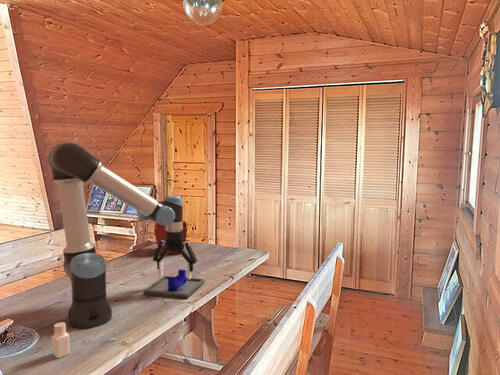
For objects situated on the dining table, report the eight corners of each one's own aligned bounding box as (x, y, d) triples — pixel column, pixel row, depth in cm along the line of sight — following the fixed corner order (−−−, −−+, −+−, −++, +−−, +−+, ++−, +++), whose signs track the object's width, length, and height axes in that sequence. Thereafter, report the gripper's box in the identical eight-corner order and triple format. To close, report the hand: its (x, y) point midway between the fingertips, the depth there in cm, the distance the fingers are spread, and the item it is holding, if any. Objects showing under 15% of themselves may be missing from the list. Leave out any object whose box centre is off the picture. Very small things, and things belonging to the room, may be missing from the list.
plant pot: (154, 257, 229) (153, 228, 228) (155, 249, 248) (154, 222, 246) (187, 255, 233) (187, 227, 231) (186, 247, 252) (186, 221, 250)
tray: (187, 298, 165) (187, 294, 165) (144, 294, 170) (144, 290, 170) (204, 283, 185) (204, 279, 185) (164, 279, 189) (164, 275, 189)
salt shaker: (57, 359, 118) (55, 328, 117) (51, 354, 121) (50, 324, 120) (70, 354, 121) (69, 324, 120) (65, 349, 124) (63, 320, 123)
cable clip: (177, 281, 184) (176, 269, 183) (186, 282, 183) (185, 269, 182) (165, 290, 172) (164, 277, 172) (174, 291, 171) (174, 278, 171)
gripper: (204, 230, 176) (204, 276, 178) (152, 227, 181) (153, 272, 184) (197, 233, 168) (198, 282, 170) (144, 230, 174) (145, 277, 176)
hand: (175, 277), depth 177 cm, fingers open, 13 cm apart
